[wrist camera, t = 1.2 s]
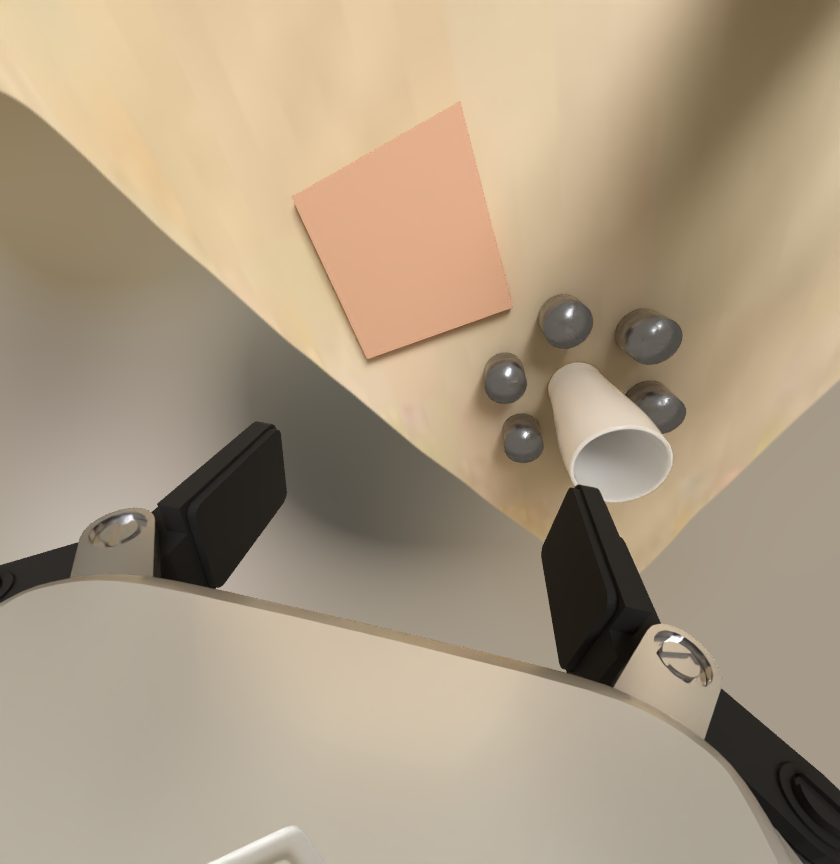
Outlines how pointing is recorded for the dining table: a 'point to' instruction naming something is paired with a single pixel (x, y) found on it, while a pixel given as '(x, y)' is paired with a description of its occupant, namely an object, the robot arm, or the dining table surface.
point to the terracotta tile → (408, 237)
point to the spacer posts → (567, 328)
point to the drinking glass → (606, 435)
